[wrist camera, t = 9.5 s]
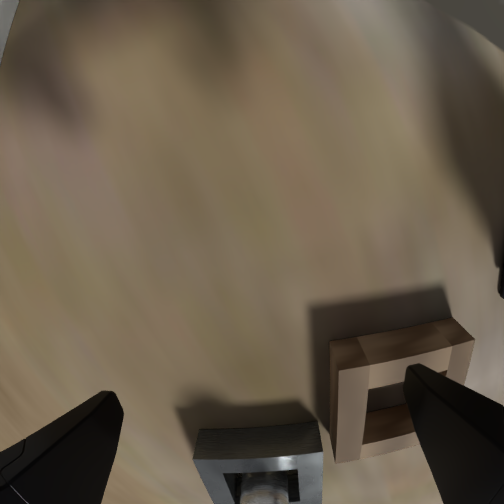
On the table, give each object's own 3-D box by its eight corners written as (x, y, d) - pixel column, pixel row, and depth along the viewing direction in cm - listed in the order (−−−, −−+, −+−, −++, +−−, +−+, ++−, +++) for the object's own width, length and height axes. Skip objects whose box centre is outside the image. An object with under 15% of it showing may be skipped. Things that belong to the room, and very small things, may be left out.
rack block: (317, 421, 24) (323, 451, 20) (318, 481, 26) (321, 507, 23) (199, 429, 24) (192, 459, 21) (222, 487, 27) (218, 513, 24)
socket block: (452, 317, 21) (475, 339, 17) (433, 410, 23) (447, 435, 20) (329, 341, 21) (338, 370, 18) (329, 434, 24) (335, 463, 21)
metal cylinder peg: (285, 446, 25) (288, 530, 16) (287, 469, 26) (291, 546, 17) (240, 449, 25) (233, 532, 16) (246, 472, 26) (241, 548, 17)
